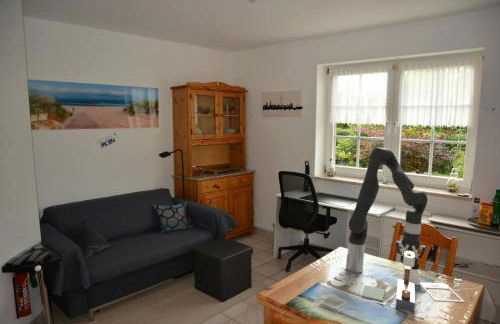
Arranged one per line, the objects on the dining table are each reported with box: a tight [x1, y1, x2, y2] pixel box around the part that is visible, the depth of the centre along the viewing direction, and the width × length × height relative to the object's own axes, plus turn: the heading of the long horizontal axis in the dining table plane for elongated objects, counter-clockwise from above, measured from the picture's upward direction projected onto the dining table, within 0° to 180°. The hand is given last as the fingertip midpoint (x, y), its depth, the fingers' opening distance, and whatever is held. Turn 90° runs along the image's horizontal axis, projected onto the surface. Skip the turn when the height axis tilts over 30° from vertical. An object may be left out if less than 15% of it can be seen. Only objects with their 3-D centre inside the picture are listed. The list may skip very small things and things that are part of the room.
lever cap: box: [402, 250, 415, 267], centre depth 173 cm, size 8×5×5 cm, turn 155°
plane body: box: [395, 265, 416, 313], centre depth 174 cm, size 22×8×13 cm, turn 155°
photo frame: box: [419, 282, 465, 303], centre depth 183 cm, size 15×1×18 cm
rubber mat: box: [361, 284, 385, 303], centre depth 179 cm, size 10×12×1 cm
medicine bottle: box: [402, 261, 423, 286], centre depth 193 cm, size 7×7×12 cm
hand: (408, 263), depth 173 cm, fingers closed on lever cap, 5 cm apart
